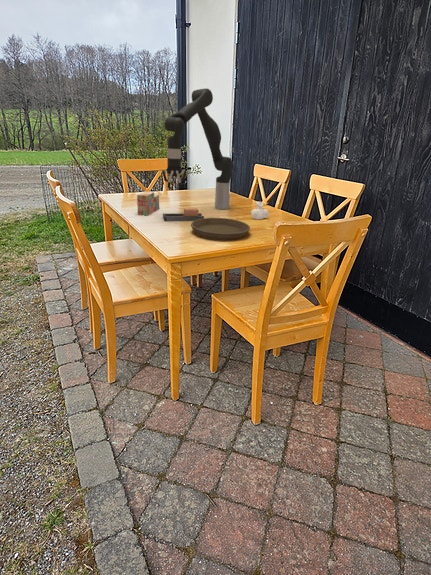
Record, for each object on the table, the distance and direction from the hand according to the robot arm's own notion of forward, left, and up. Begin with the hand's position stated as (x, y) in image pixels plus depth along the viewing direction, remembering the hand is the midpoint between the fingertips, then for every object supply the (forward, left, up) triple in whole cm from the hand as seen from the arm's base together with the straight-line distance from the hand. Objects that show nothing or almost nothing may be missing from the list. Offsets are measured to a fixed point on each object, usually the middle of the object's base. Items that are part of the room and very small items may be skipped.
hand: (174, 189), depth 207 cm
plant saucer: (-20, +30, -18) cm, 40 cm away
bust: (-53, 0, -18) cm, 56 cm away
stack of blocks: (+13, -20, -18) cm, 30 cm away
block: (-10, 0, -18) cm, 20 cm away
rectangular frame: (-6, 0, -17) cm, 18 cm away
